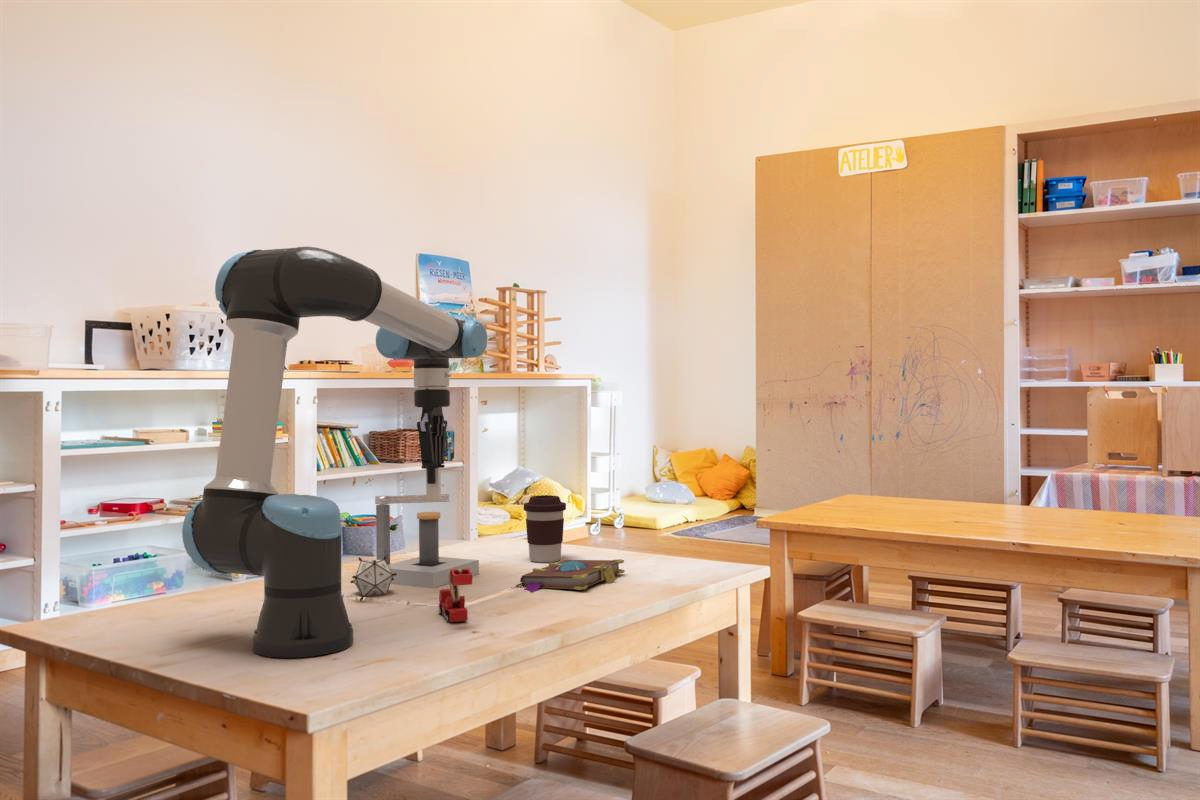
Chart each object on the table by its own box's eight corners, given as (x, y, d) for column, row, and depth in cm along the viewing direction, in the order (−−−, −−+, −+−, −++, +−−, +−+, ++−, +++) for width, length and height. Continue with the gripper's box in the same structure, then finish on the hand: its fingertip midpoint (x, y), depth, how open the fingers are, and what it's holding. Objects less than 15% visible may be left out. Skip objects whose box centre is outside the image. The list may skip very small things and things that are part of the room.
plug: (431, 580, 203) (431, 515, 203) (412, 579, 205) (412, 513, 205) (445, 576, 207) (444, 512, 207) (426, 575, 209) (426, 511, 209)
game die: (379, 619, 190) (382, 583, 184) (340, 602, 191) (342, 566, 185) (402, 589, 197) (406, 553, 191) (365, 572, 198) (367, 537, 192)
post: (385, 581, 208) (384, 506, 208) (366, 579, 210) (365, 505, 210) (400, 577, 213) (399, 504, 213) (381, 575, 215) (381, 503, 215)
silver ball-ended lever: (449, 502, 213) (449, 495, 213) (375, 504, 210) (375, 497, 209) (448, 500, 216) (448, 493, 216) (375, 502, 213) (375, 495, 213)
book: (508, 597, 198) (506, 572, 198) (564, 575, 220) (563, 553, 220) (581, 599, 191) (580, 573, 191) (631, 577, 213) (630, 553, 213)
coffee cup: (570, 563, 229) (569, 498, 229) (527, 565, 227) (527, 499, 226) (561, 556, 239) (561, 493, 238) (521, 557, 236) (520, 495, 236)
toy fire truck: (455, 611, 180) (455, 557, 180) (473, 627, 167) (472, 570, 167) (437, 612, 179) (436, 559, 179) (453, 629, 166) (453, 572, 166)
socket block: (433, 592, 196) (433, 572, 196) (377, 586, 202) (377, 567, 202) (478, 578, 210) (478, 560, 210) (425, 573, 216) (425, 555, 216)
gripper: (438, 388, 205) (440, 502, 205) (458, 388, 218) (459, 495, 218) (404, 388, 206) (405, 502, 206) (425, 389, 219) (427, 495, 219)
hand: (433, 498), depth 212 cm, fingers closed
